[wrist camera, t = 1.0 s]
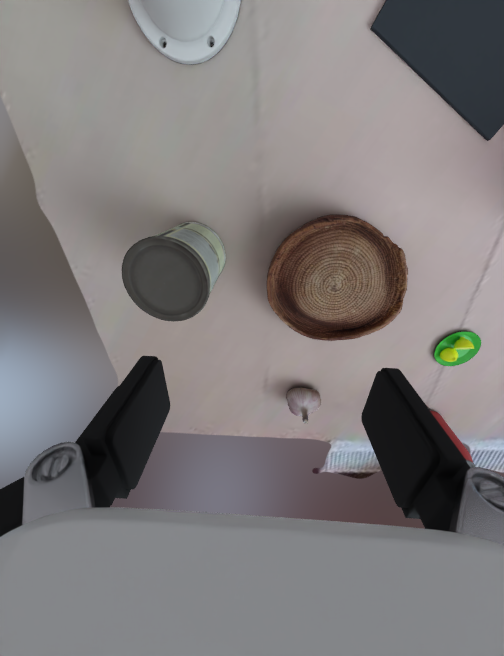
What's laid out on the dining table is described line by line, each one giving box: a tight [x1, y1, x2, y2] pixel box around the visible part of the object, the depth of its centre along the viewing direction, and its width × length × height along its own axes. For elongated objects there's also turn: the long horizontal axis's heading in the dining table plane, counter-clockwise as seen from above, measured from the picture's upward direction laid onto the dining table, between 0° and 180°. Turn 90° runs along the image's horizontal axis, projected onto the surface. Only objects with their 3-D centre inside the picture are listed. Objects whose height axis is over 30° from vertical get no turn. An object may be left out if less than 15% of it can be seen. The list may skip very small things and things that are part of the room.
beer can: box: [430, 410, 475, 468], centre depth 52 cm, size 7×7×12 cm
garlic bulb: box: [286, 388, 321, 423], centre depth 52 cm, size 8×7×8 cm
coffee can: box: [122, 222, 225, 321], centre depth 35 cm, size 10×10×14 cm
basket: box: [267, 215, 408, 341], centre depth 40 cm, size 22×20×5 cm
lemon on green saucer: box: [434, 332, 481, 366], centre depth 46 cm, size 8×8×3 cm
